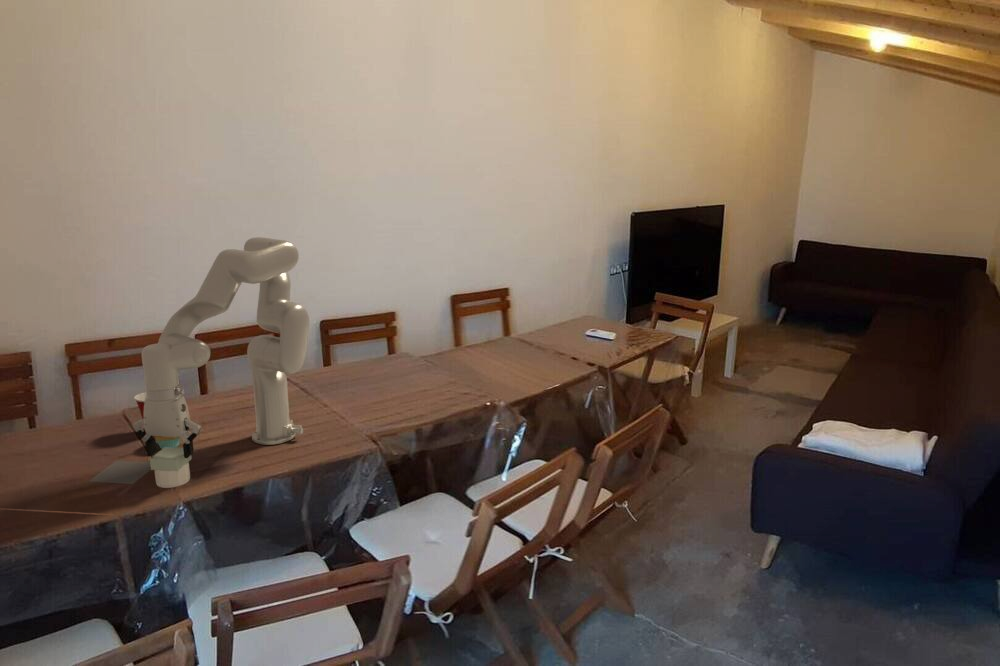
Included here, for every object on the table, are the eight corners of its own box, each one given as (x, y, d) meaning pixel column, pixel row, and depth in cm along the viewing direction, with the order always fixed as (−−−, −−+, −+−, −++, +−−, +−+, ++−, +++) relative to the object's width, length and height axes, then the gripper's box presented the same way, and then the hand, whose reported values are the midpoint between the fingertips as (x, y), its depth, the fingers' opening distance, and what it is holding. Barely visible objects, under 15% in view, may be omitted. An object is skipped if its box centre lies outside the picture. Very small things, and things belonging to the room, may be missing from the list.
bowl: (196, 475, 177) (194, 457, 176) (180, 489, 170) (178, 472, 168) (166, 473, 178) (164, 456, 176) (150, 488, 170) (147, 470, 169)
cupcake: (153, 455, 188) (148, 415, 185) (152, 443, 195) (148, 405, 192) (186, 449, 192) (182, 410, 188) (185, 438, 199) (181, 400, 196)
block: (191, 458, 175) (190, 448, 175) (177, 471, 169) (176, 460, 168) (165, 457, 176) (164, 447, 175) (151, 469, 169) (149, 459, 168)
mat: (158, 464, 183) (158, 462, 183) (133, 485, 171) (133, 483, 171) (116, 462, 183) (116, 460, 183) (88, 483, 172) (87, 481, 172)
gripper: (204, 389, 170) (210, 450, 175) (138, 386, 171) (146, 447, 176) (189, 399, 163) (196, 463, 168) (120, 396, 164) (129, 459, 168)
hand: (170, 454), depth 172 cm, fingers open, 9 cm apart
